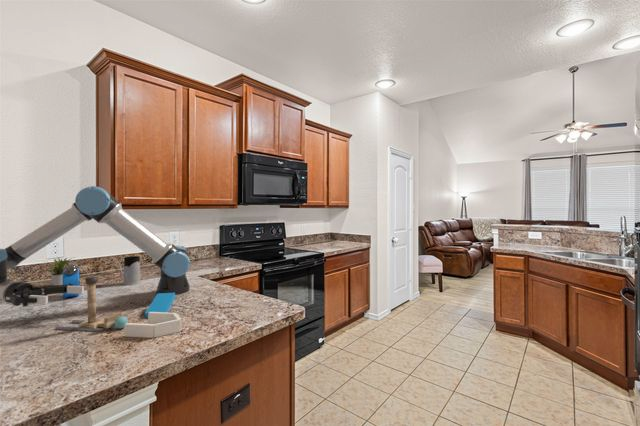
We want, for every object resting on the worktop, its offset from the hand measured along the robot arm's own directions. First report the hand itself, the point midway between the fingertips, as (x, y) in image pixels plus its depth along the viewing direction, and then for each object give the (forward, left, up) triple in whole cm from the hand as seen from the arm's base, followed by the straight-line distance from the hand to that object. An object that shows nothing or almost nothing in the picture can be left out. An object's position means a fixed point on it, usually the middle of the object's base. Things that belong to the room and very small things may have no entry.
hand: (66, 294), depth 109 cm
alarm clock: (0, -48, -11) cm, 49 cm away
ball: (-15, +15, -9) cm, 23 cm away
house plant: (+5, -82, -11) cm, 83 cm away
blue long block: (-31, +2, -12) cm, 33 cm away
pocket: (-26, +25, -11) cm, 38 cm away
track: (-6, +5, -11) cm, 14 cm away
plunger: (-9, +9, -11) cm, 17 cm away
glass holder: (-25, -63, -11) cm, 69 cm away
